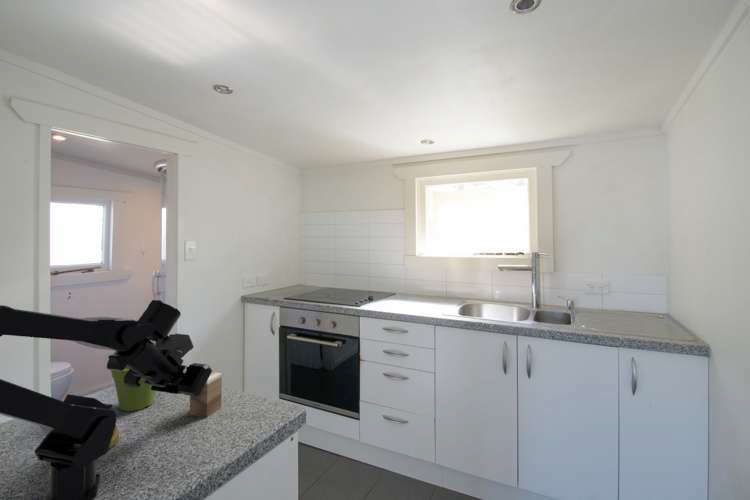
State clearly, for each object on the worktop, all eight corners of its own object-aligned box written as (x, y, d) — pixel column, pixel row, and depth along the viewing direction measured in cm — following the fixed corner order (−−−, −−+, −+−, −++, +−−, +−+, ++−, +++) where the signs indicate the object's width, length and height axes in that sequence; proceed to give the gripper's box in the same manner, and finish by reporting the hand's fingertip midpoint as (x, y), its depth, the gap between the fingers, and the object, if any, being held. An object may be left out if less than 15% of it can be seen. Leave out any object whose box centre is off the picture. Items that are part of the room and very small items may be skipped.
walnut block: (221, 408, 89) (221, 373, 89) (207, 417, 84) (207, 380, 84) (204, 405, 90) (205, 370, 90) (189, 414, 85) (190, 377, 85)
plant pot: (156, 392, 98) (157, 352, 98) (169, 405, 90) (169, 362, 90) (103, 405, 89) (104, 361, 89) (112, 421, 81) (113, 373, 81)
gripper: (206, 328, 74) (238, 363, 84) (136, 322, 78) (175, 356, 89) (175, 379, 66) (215, 410, 77) (100, 368, 71) (148, 399, 82)
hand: (188, 391), depth 81 cm, fingers closed
